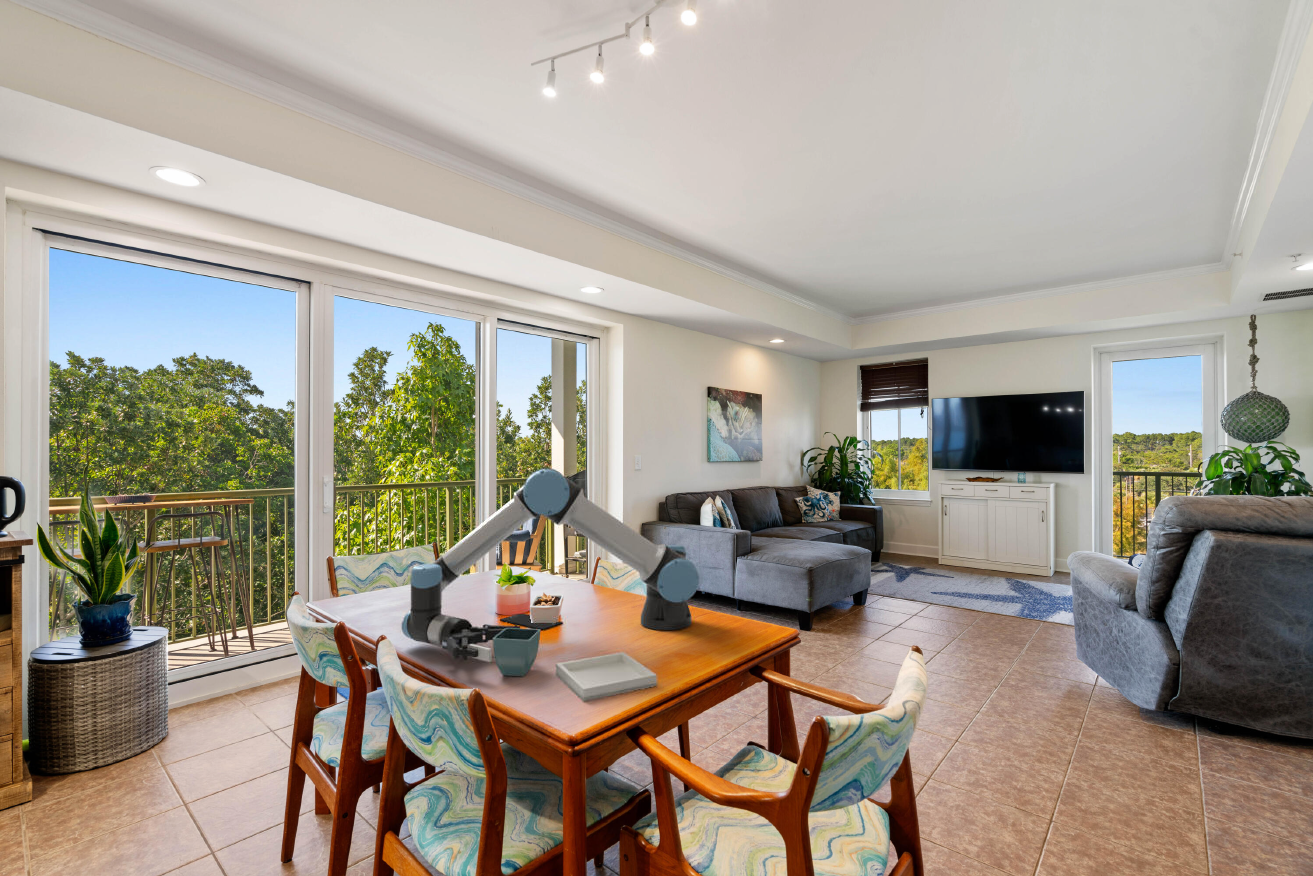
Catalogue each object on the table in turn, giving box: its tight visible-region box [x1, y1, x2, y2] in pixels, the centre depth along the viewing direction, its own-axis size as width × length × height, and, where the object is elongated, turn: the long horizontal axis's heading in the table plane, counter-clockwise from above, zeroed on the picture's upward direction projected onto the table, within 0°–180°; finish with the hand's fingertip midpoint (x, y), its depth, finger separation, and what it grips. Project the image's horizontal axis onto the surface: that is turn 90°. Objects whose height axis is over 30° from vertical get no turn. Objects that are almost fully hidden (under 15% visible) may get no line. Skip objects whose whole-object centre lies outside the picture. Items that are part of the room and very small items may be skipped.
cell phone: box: [499, 613, 564, 632], centre depth 182 cm, size 9×18×1 cm, turn 56°
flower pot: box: [492, 627, 542, 677], centre depth 141 cm, size 9×9×9 cm
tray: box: [555, 651, 658, 702], centre depth 136 cm, size 17×17×2 cm
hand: (512, 647), depth 141 cm, fingers open, 13 cm apart
